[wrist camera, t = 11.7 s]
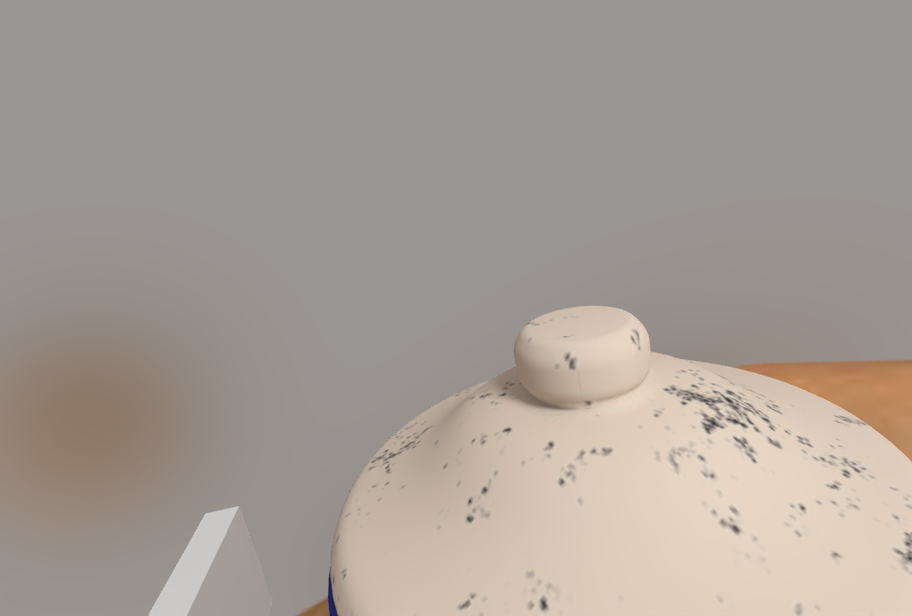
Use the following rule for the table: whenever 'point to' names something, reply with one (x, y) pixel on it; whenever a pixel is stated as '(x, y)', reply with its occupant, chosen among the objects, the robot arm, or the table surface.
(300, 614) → the table surface
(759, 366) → the table surface
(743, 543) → the teacup with lid
